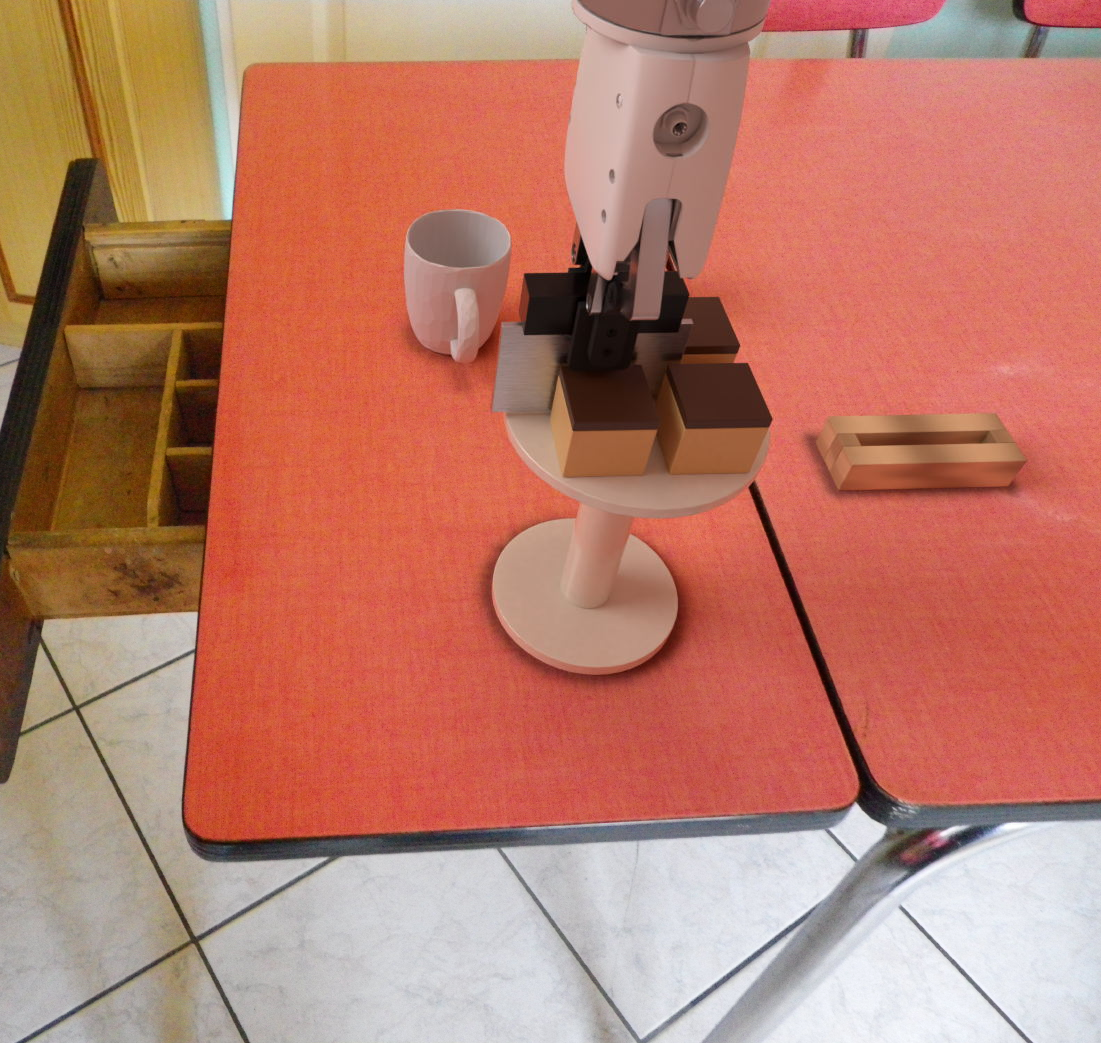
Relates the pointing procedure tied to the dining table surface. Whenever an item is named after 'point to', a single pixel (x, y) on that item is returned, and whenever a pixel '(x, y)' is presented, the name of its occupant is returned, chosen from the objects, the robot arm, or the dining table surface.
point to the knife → (547, 331)
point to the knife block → (919, 451)
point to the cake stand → (598, 558)
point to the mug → (456, 279)
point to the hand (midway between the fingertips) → (592, 347)
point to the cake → (665, 409)
